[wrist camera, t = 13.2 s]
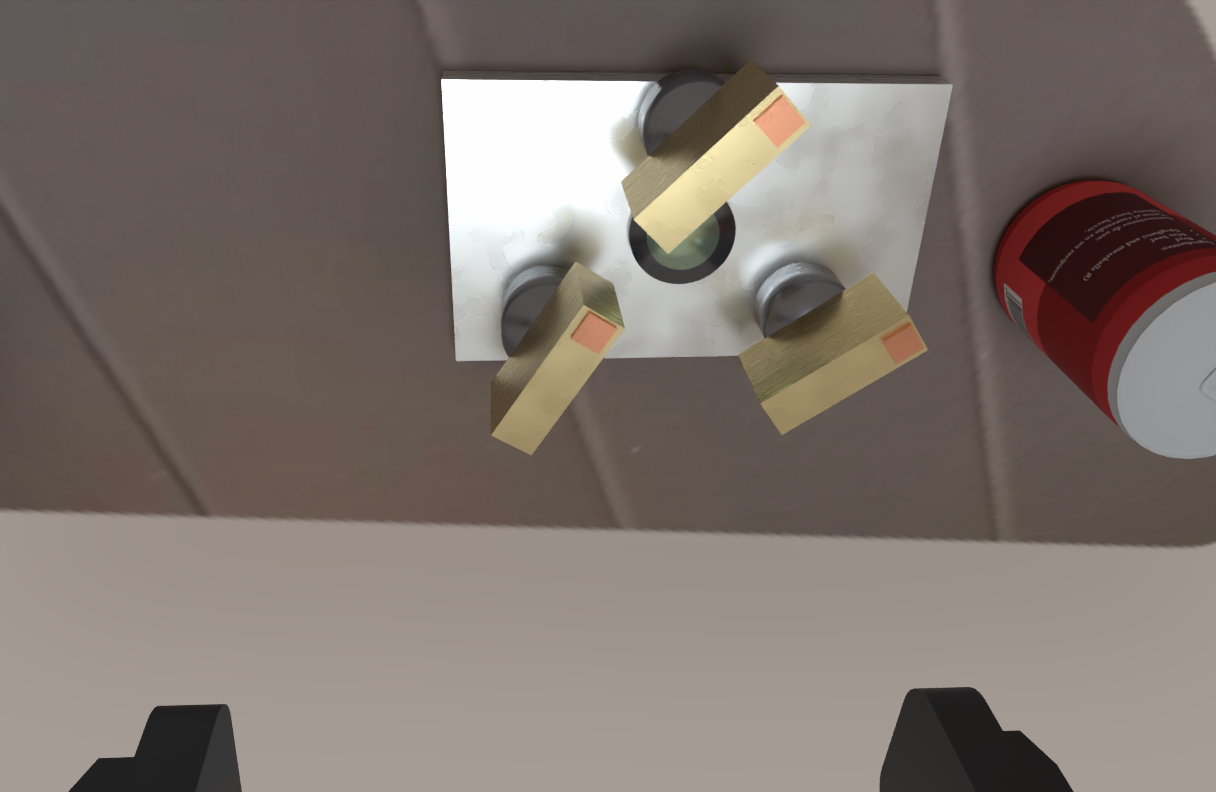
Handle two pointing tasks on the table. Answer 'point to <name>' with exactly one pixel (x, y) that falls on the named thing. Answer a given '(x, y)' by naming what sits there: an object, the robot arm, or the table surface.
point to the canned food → (1120, 307)
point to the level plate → (722, 245)
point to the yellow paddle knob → (705, 146)
